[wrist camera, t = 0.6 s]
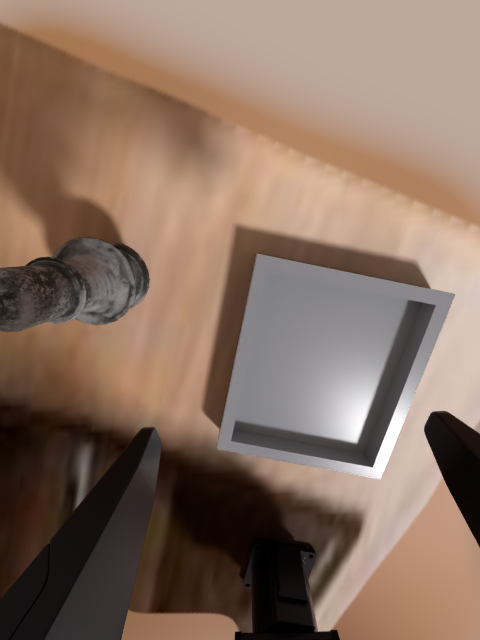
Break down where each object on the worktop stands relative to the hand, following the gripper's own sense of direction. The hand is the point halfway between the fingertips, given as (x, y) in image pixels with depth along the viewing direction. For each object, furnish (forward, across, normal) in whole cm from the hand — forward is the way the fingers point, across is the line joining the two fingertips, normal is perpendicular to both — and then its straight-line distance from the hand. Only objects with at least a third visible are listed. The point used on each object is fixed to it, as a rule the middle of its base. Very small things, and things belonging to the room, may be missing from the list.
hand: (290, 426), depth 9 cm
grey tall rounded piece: (+15, +12, 0) cm, 19 cm away
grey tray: (+12, -4, +8) cm, 15 cm away
